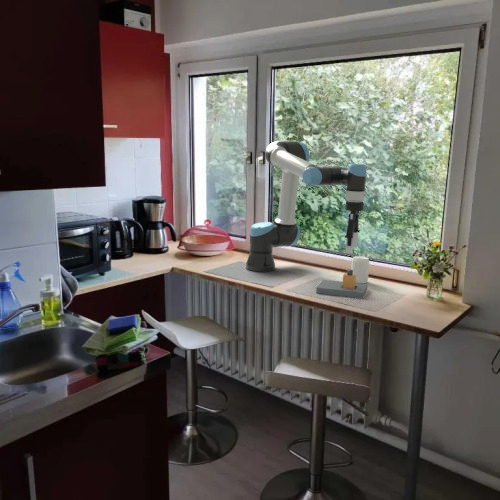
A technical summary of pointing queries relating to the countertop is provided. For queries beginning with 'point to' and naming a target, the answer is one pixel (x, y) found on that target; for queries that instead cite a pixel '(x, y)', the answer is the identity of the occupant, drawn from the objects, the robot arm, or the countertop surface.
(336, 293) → the socket block
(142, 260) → the countertop surface
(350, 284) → the orange bottle
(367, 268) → the beverage can
